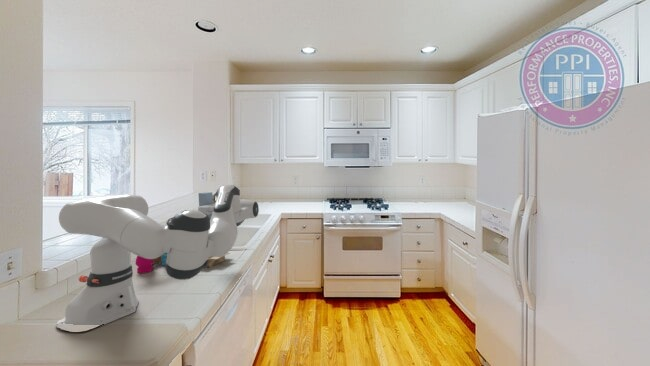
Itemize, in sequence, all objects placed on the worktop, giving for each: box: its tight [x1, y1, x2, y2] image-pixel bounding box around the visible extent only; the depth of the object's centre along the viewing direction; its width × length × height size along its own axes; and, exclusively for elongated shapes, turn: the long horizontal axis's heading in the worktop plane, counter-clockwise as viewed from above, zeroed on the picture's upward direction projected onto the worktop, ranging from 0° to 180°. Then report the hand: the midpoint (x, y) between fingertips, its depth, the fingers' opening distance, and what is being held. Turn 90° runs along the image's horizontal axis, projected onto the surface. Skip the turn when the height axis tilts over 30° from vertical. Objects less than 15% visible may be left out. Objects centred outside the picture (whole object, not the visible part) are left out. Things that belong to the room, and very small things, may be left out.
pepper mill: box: [135, 255, 154, 274], centre depth 142 cm, size 7×7×20 cm
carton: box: [205, 252, 231, 268], centre depth 153 cm, size 18×18×4 cm
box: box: [198, 191, 214, 220], centre depth 151 cm, size 4×4×16 cm
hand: (204, 206), depth 151 cm, fingers closed on box, 4 cm apart
